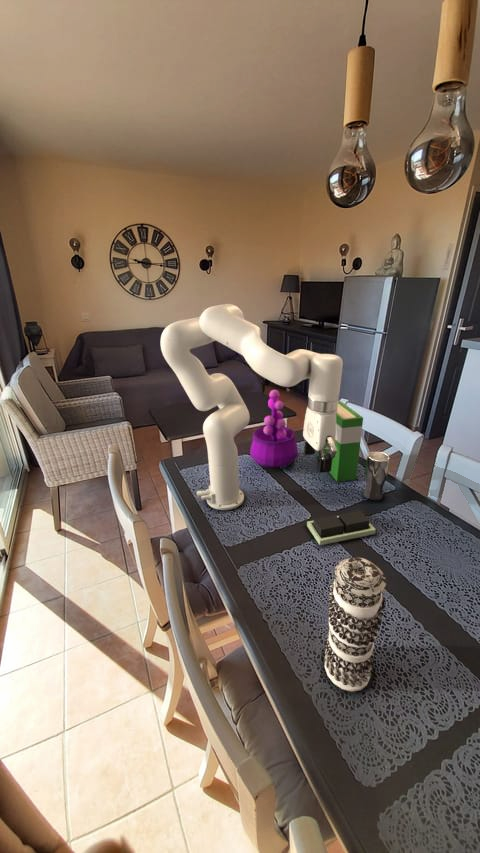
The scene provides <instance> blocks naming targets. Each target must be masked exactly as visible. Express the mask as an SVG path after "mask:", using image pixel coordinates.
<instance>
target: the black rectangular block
mask: <svg viewBox="0 0 480 853" xmlns="http://www.w3.org/2000/svg"><path fill="white" fill-rule="evenodd" d="M337 516H338V515H336V514H333V515H332V514H331V515H327V516H321V517H317V518H313V520H312V521H313V527H314V528H315V530H316V531H317V533H318V534H319V536H320V537H321V539H322V538H326V537H331V536H336V535H341V534H343V531H344V525H343V523H342V522H341V521H340V520H339V518H338V517H337Z"/></svg>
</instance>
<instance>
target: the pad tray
mask: <svg viewBox="0 0 480 853" xmlns="http://www.w3.org/2000/svg"><path fill="white" fill-rule="evenodd" d="M336 516H337V517H338V518H339V515H336ZM313 521H314V520H309V521H306V527H307V528H308V530H309V531H310V533H311V535H312V536H313V537H314V539H315V540H316V542H317V543H318V546H323V545H328V544H334V543H338V542H343V541H347V540H351V539H352V540H353V539H357V538H362V537H366V536H372V535H376V530H377V529H376V528H375V527H374V526H373V525H372V524H371V522H369V528H368V529H366V530H361V531H356V532H351V533H345V532H344V531H343V534H341V535H336V536H331V537H326V538H322V539H321V537H320V536H319V534H318V533H317V531H316V530H315V528H314V527H313Z"/></svg>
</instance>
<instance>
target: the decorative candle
mask: <svg viewBox="0 0 480 853" xmlns="http://www.w3.org/2000/svg"><path fill="white" fill-rule="evenodd" d="M334 577H335V578H333V579H332V584H330V585H329V590H330V591H329V593H328V604H329V607H328V612H327V616H328V626H329V630H328V632H327V634H326V635H327V637H326V640H325V642H326V644H325V652H324V669H325V672H326V675H327V677H328V678H329V679H330V681H331V682H332V683H333V684H334V685H335V686H336V687H339V689H341V690H344V691H348V692H357V691H361V690H363V689H364V688H365V687H367V686H368V684H369V682H370V679H371V676H372V672H371V671H372V670H373V666H372V665H373V663H374V658H375V642H376V639H377V637H378V634H379V631H380V629H381V626H379V625H381V624H382V622H383V619H382V617H384V615H385V614H384V611H383V610H385V609H386V607H387V605H386V598H385V597H384V595H383V591H384V589H385V587H386V585H387V581H386V575H385V574H384V572H383V571H382V570H381V568H379V567H378V566H377V565H375V563H373V562H372V561H370V560H368V559H366V558H363V557H357V556H356V557H355V556H354V557H349V558H344V559H343V560H341V561H339V562H338V563H337V564H336V566H335V567H334Z"/></svg>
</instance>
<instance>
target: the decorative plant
mask: <svg viewBox="0 0 480 853" xmlns="http://www.w3.org/2000/svg"><path fill="white" fill-rule="evenodd" d="M268 396H269V399H268V401H267V406H268V408H269V409H270V410H271V415H266V416H265V417H264V419H263V422H264V424H265V425H264V426H261V427H259V428H257V429H255V430H254V432H253V436H252V442H251V444H250V450H249V452H250V453H249V454H250V457H251V459H252V460H253V461H254V462H255V463H256V464H258V465H259V466H262V467H266V468H273V469H275V468H283V467H287V466H289V465H291V464H292V463H294V462H295V461H296V460H297V458H298V456H299V452H298V443H297V440H296V433H295V431H294V430H293V429H291V428H289V427H287V423H286V421H285V419H283V418H284V414H283V412H282V411H281V410H282V409H283V408H284V403H283V401H281V400H280V399H279V398H280V396H281V394H280V391H279V390H277V389H272V390H270V392H269V395H268Z"/></svg>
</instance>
